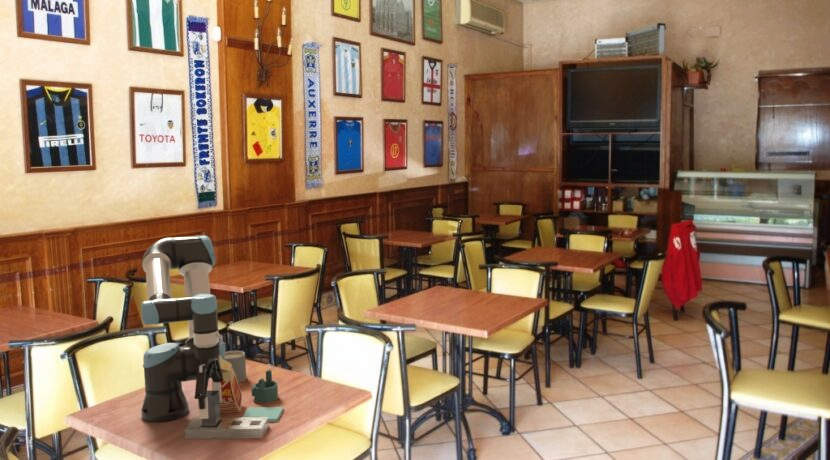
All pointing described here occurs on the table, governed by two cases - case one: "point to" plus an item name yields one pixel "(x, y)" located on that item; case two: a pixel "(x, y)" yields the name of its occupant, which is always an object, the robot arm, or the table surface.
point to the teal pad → (264, 412)
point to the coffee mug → (237, 363)
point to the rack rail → (228, 428)
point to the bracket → (265, 389)
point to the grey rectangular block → (212, 410)
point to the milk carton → (229, 389)
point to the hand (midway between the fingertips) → (210, 410)
